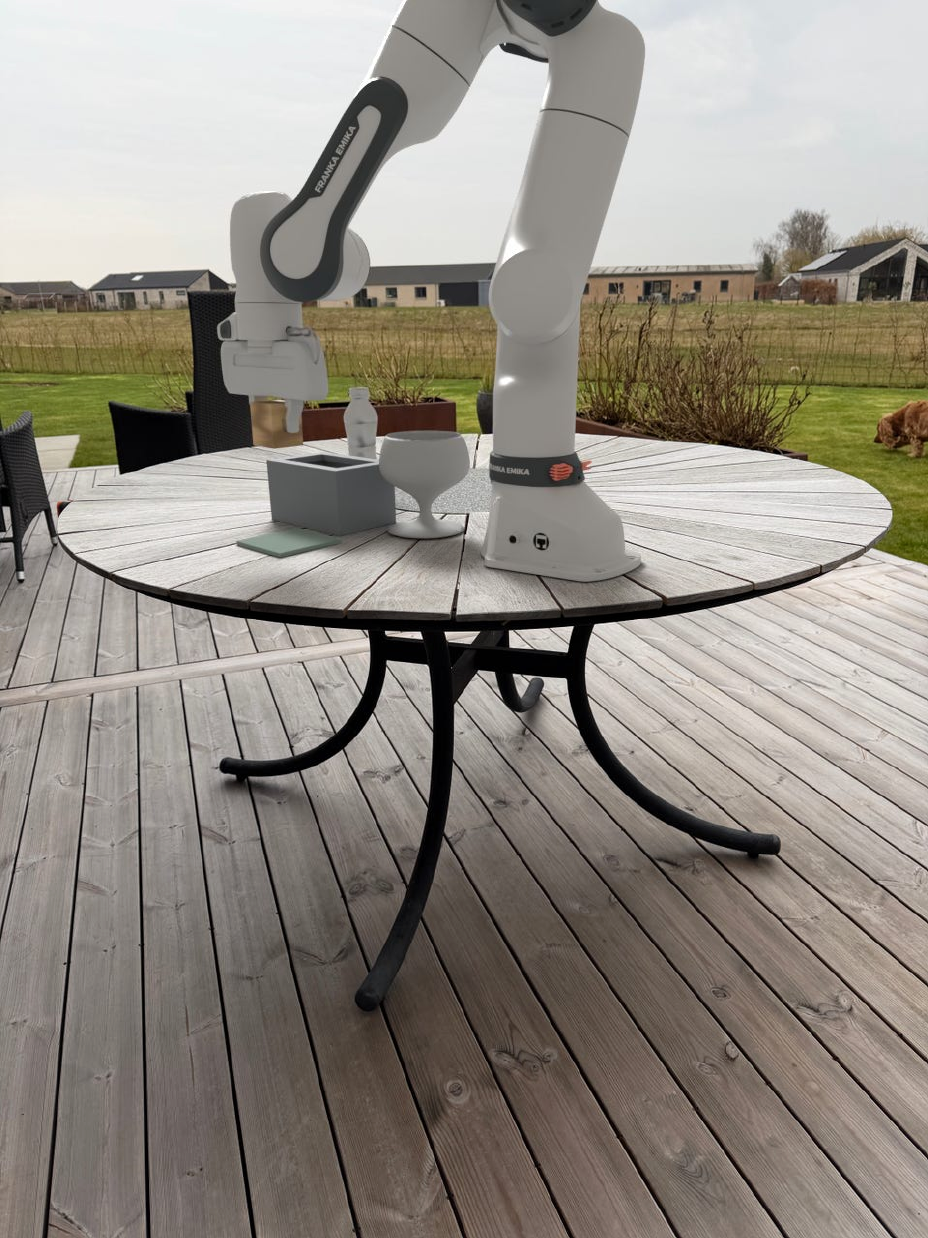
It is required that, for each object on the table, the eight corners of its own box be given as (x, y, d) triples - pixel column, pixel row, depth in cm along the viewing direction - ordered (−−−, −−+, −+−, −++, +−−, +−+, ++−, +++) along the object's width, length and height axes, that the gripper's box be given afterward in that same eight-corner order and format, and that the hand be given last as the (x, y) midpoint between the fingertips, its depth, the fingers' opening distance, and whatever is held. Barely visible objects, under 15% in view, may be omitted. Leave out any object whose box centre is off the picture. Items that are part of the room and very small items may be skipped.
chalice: (452, 518, 133) (450, 427, 128) (483, 536, 121) (483, 437, 116) (371, 525, 128) (367, 432, 123) (396, 545, 116) (392, 442, 111)
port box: (396, 522, 130) (393, 461, 127) (339, 535, 122) (335, 471, 118) (327, 508, 142) (323, 451, 138) (271, 519, 133) (266, 459, 130)
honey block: (303, 445, 113) (300, 402, 111) (274, 448, 109) (270, 404, 107) (282, 441, 116) (279, 399, 114) (253, 445, 112) (249, 401, 110)
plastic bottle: (340, 495, 152) (333, 388, 146) (360, 489, 158) (355, 386, 151) (368, 498, 150) (362, 389, 143) (387, 492, 155) (383, 387, 148)
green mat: (341, 542, 118) (341, 538, 118) (280, 557, 110) (279, 553, 110) (297, 531, 125) (296, 527, 125) (236, 544, 117) (236, 540, 117)
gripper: (336, 327, 103) (341, 434, 108) (248, 326, 116) (256, 423, 121) (297, 326, 98) (304, 438, 103) (210, 326, 111) (219, 426, 116)
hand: (277, 430), depth 112 cm, fingers closed on honey block, 5 cm apart
